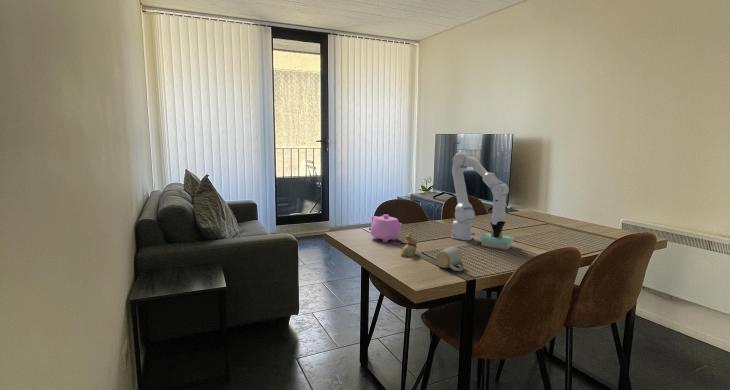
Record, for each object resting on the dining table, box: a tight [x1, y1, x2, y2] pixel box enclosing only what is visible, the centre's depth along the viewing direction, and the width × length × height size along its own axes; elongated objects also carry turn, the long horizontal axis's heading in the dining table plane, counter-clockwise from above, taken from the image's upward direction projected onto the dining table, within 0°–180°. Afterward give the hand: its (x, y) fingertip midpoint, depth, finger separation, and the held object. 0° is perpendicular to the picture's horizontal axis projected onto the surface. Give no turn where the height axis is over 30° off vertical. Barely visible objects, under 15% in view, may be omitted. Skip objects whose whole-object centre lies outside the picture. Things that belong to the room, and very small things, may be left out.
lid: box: [479, 230, 515, 244], centre depth 189 cm, size 14×10×4 cm
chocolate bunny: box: [400, 232, 418, 257], centre depth 172 cm, size 6×8×10 cm
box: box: [480, 240, 512, 251], centre depth 189 cm, size 12×8×4 cm, turn 57°
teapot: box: [370, 213, 403, 243], centre depth 196 cm, size 20×12×13 cm, turn 43°
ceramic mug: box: [435, 246, 465, 272], centre depth 156 cm, size 11×8×8 cm
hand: (496, 236), depth 189 cm, fingers closed on lid, 2 cm apart
